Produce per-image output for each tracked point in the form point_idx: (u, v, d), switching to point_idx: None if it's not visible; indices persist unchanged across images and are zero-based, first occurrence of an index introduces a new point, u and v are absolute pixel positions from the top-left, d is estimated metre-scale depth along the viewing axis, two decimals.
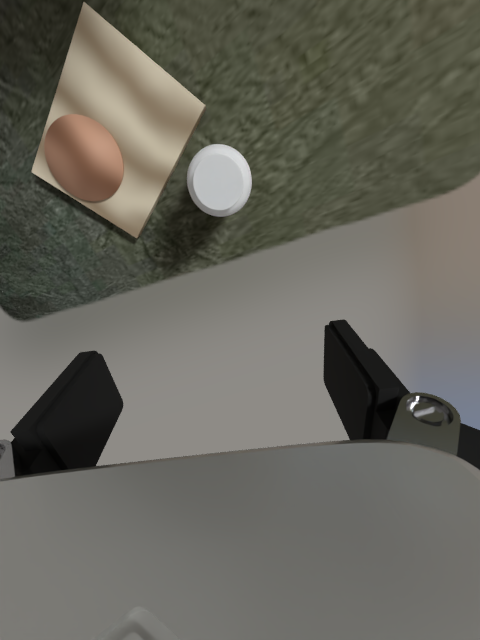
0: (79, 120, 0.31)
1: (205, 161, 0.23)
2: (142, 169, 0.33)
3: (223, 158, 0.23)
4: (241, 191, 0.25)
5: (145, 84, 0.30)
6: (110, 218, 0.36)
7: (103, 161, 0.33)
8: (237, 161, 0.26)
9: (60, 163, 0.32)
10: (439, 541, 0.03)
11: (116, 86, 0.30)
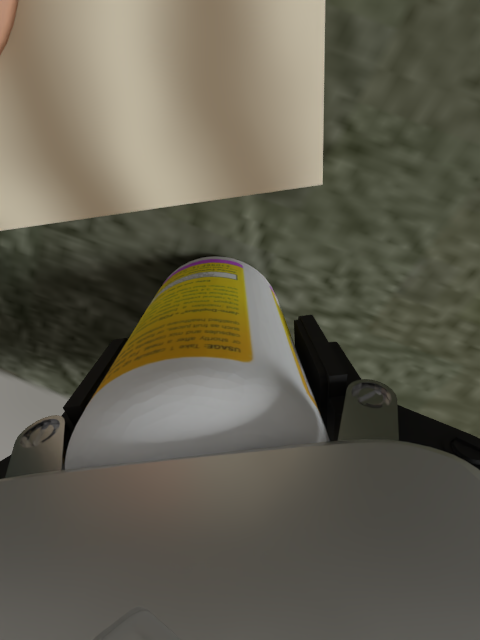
0: None
1: None
2: (51, 132, 0.10)
3: None
4: None
5: None
6: None
7: None
8: None
9: None
10: (439, 541, 0.03)
11: None
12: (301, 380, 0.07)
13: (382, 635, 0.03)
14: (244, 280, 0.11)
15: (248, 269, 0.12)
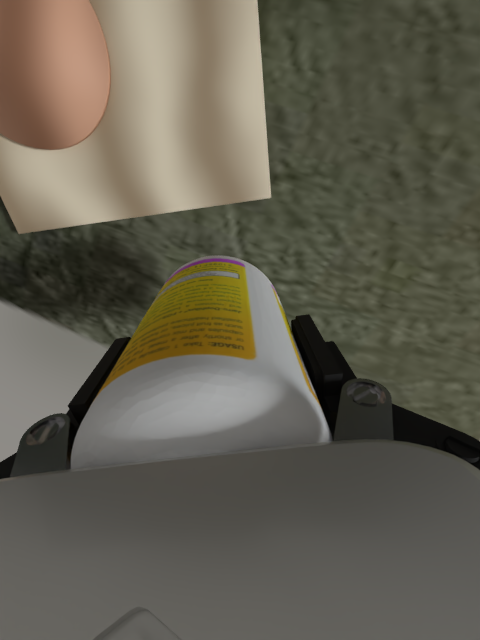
0: None
1: None
2: (117, 169, 0.17)
3: None
4: None
5: (225, 88, 0.16)
6: None
7: (59, 92, 0.15)
8: None
9: None
10: (439, 541, 0.03)
11: (183, 35, 0.15)
12: (304, 378, 0.07)
13: (382, 635, 0.03)
14: (246, 279, 0.11)
15: (250, 268, 0.12)
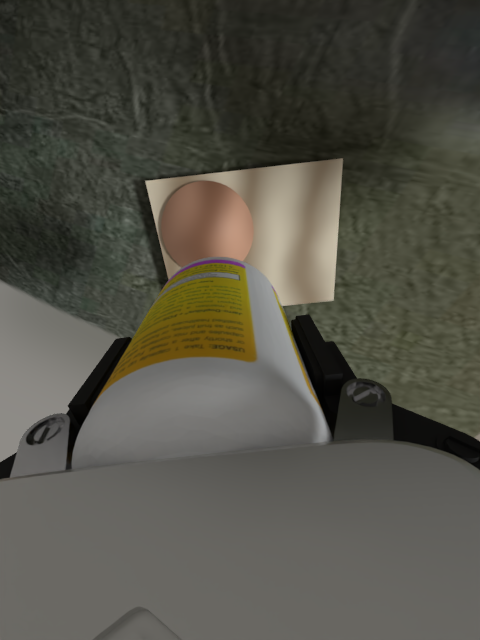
0: (241, 208, 0.25)
1: None
2: None
3: None
4: None
5: (315, 247, 0.28)
6: None
7: (222, 250, 0.27)
8: None
9: (183, 210, 0.25)
10: (439, 541, 0.03)
11: (296, 224, 0.27)
12: (305, 380, 0.07)
13: (382, 635, 0.03)
14: (247, 280, 0.11)
15: (250, 269, 0.12)
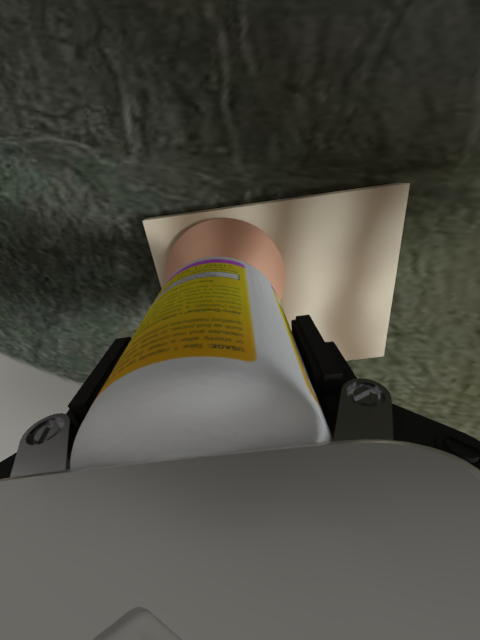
0: (270, 251, 0.19)
1: None
2: None
3: None
4: None
5: (364, 295, 0.21)
6: None
7: None
8: None
9: (193, 256, 0.19)
10: (439, 541, 0.03)
11: (341, 268, 0.20)
12: (304, 379, 0.07)
13: (382, 635, 0.03)
14: (246, 280, 0.11)
15: (250, 269, 0.12)
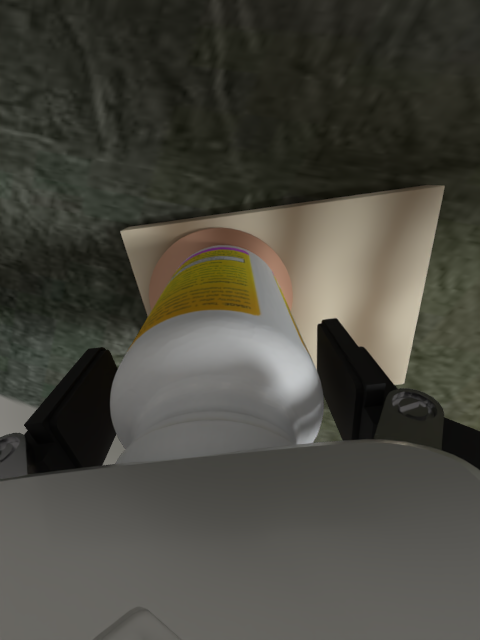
0: (275, 267, 0.16)
1: None
2: None
3: None
4: None
5: (385, 316, 0.18)
6: None
7: None
8: (306, 439, 0.08)
9: None
10: (439, 541, 0.03)
11: (358, 285, 0.17)
12: (299, 336, 0.09)
13: (382, 635, 0.03)
14: (251, 263, 0.12)
15: (253, 256, 0.14)
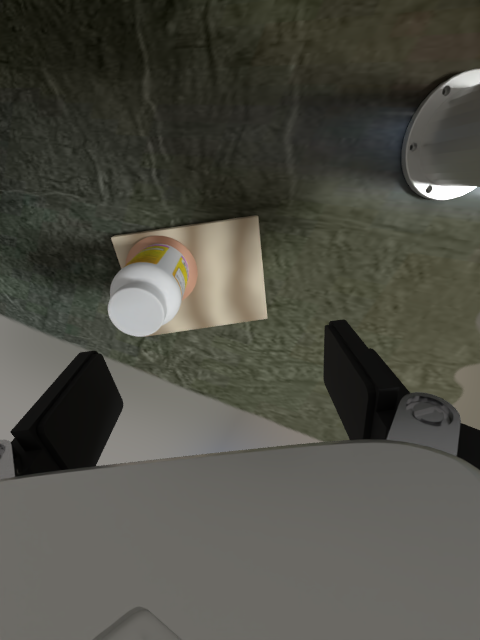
0: (185, 254, 0.34)
1: (139, 291, 0.22)
2: (195, 310, 0.37)
3: (156, 303, 0.22)
4: (150, 333, 0.24)
5: (247, 279, 0.36)
6: None
7: None
8: (171, 302, 0.25)
9: None
10: (439, 541, 0.03)
11: (229, 263, 0.35)
12: (172, 272, 0.26)
13: (382, 635, 0.03)
14: (166, 251, 0.30)
15: (171, 248, 0.32)
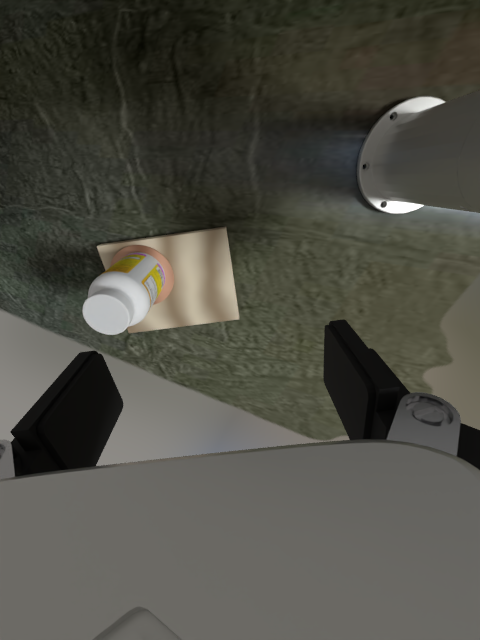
0: (162, 261, 0.38)
1: (107, 298, 0.26)
2: (173, 310, 0.42)
3: (122, 307, 0.27)
4: (119, 332, 0.28)
5: (218, 284, 0.40)
6: None
7: None
8: (139, 305, 0.30)
9: None
10: (439, 541, 0.03)
11: (202, 269, 0.39)
12: (141, 280, 0.30)
13: (382, 635, 0.03)
14: (142, 259, 0.34)
15: (148, 257, 0.36)
